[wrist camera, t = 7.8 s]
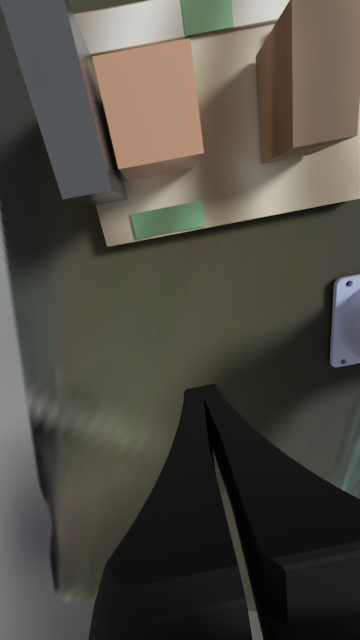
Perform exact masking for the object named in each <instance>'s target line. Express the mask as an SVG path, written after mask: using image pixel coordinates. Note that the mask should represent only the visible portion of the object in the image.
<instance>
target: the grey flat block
mask: <svg viewBox="0 0 360 640" xmlns="http://www.w3.org/2000/svg"><path fill="white" fill-rule="evenodd" d="M0 4H1V7H2V11H3V14H4V17H5V20H6V23H7V26H8V30H9V33H10V36H11V39H12V42H13V45H14V48H15V52H16V55H17V58H18V61H19V64H20V67H21V70H22V74H23V77H24V80H25V83H26V86H27V89H28V93H29V96H30V99H31V102H32V105H33V108H34V111H35V115H36V118H37V121H38V124H39V127H40V130H41V133H42V137H43V140H44V143H45V146H46V149H47V152H48V156H49V159H50V162H51V165H52V168H53V171H54V174H55V178H56V181H57V184H58V187H59V190H60V193H61V196H62V199H63V200H68V201H74V202H79V203H84V204H90V205H95V206H97V205H102V204H107V203H112V202H118V201H123V200H128V198H127V194H126V190H125V185H124V181H123V176H122V173H121V172H120V171H119V169H118V165H117V161H116V157H115V152H114V148H113V144H112V140H111V135H110V131H109V127H108V122H107V118H106V114H105V110H104V105H103V101H102V97H101V92H100V88H99V84H98V80H97V75H96V71H95V67H94V62H93V60H92V57H91V55H90V53H89V50H88V48H87V45H86V43H85V41H84V38H83V36H82V33H81V31H80V29H79V26H78V24H77V21H76V19H75V17H74V14H73V12H72V9H71V7H70V5H69V2H68V0H0Z"/></svg>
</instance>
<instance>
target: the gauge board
mask: <svg viewBox="0 0 360 640" xmlns="http://www.w3.org/2000/svg"><path fill="white" fill-rule="evenodd" d="M289 1H290V0H148V1H143V2H137V3H132V4H127V5H121V6H116V7H110V8H105V9H100V10H94V11H89V12H83V13H78V14H74V17H75V19H76V21H77V24H78V26H79V29H80V31H81V33H82V36H83V38H84V41H85V43H86V45H87V48H88V50H89V53H90V55H91V57H92V56H97V55H103V54H108V53H113V52H119V51H124V50H130V49H135V48H140V47H146V46H151V45H156V44H162V43H167V42H172V41H178V40H183V39H188V38H190V41H191V49H192V57H193V66H194V74H195V82H196V90H197V99H198V107H199V115H200V123H201V132H202V140H203V148H204V154H203V155H202V157H201V158H200V159H199V161H198V162H197V164H196V165H195V166H194V168H192V169H187V170H181V171H176V172H171V173H166V174H160V175H155V176H150V177H145V178H139V179H134V180H129V181H128V180H127V179H126V178H125V177H124V175H123V174H122V176H123V181H124V185H125V190H126V194H127V198H128V200H123V201H118V202H112V203H107V204H102V205H97V206H96V208H97V212H98V215H99V219H100V223H101V226H102V230H103V233H104V237H105V241H106V244H107V247H109V246H115V245H120V244H125V243H130V242H136V241H141V240H146V239H151V238H156V237H162V236H167V235H172V234H177V233H182V232H188V231H193V230H198V229H203V228H209V227H214V226H219V225H224V224H229V223H235V222H240V221H245V220H250V219H255V218H261V217H266V216H271V215H276V214H282V213H287V212H292V211H297V210H302V209H308V208H313V207H318V206H323V205H328V204H334V203H339V202H344V201H349V200H355V199H360V103H359V118H358V132H357V136H355V137H353V138H350V139H348V140H345V141H343V142H340V143H338V144H335V145H333V146H331V147H328V148H326V149H323V150H321V151H318V152H316V153H313V154H311V155H307V156H302V157H297V158H291V159H286V160H281V161H276V162H270V163H265V164H261V156H260V136H259V116H258V96H257V76H256V55H257V53H258V52H259V50H260V48H261V47H262V45H263V43H264V42H265V40H266V39H267V37H268V35H269V34H270V32H271V30H272V29H273V27H274V25H275V24H276V22H277V20H278V19H279V17H280V15H281V14H282V12H283V11H284V9H285V7H286V6H287V4H288V2H289ZM92 60H93V58H92Z"/></svg>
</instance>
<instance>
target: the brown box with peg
mask: <svg viewBox="0 0 360 640" xmlns="http://www.w3.org/2000/svg"><path fill="white" fill-rule="evenodd" d="M256 76H257V96H258V116H259V136H260V156H261V164H265V163H270V162H276V161H281V160H286V159H291V158H297V157H302V156H307V155H311V154H313V153H316V152H318V151H321V150H323V149H326V148H328V147H331V146H333V145H335V144H338V143H340V142H343V141H345V140H348V139H350V138H353V137H355V136H357V132H358V118H359V103H360V0H290V1H289V2H288V4H287V6H286V7H285V9H284V11H283V12H282V14H281V15H280V17H279V19H278V20H277V22H276V24H275V25H274V27H273V29H272V30H271V32H270V34H269V35H268V37H267V39H266V40H265V42H264V43H263V45H262V47H261V48H260V50H259V52H258V53H257V55H256Z"/></svg>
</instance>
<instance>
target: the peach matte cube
mask: <svg viewBox="0 0 360 640" xmlns="http://www.w3.org/2000/svg"><path fill="white" fill-rule="evenodd" d="M92 58H93V62H94V67H95V71H96V75H97V80H98V84H99V88H100V92H101V97H102V101H103V105H104V110H105V114H106V118H107V122H108V127H109V131H110V135H111V140H112V144H113V148H114V152H115V157H116V161H117V165H118V169H119V171H120V172H121V173H122V174H123V175H124V177H125V178H126V179H127V180H128V181H129V180H134V179H139V178H145V177H150V176H155V175H160V174H166V173H171V172H176V171H181V170H187V169H192V168H194V166H195V165H196V164H197V162H198V161H199V159H200V158H201V157H202V155H203V154H204V148H203V140H202V132H201V123H200V115H199V107H198V99H197V90H196V82H195V74H194V66H193V57H192V49H191V41H190V38H188V39H183V40H178V41H172V42H167V43H162V44H156V45H151V46H146V47H140V48H135V49H130V50H124V51H119V52H113V53H108V54H103V55H97V56H92Z"/></svg>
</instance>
